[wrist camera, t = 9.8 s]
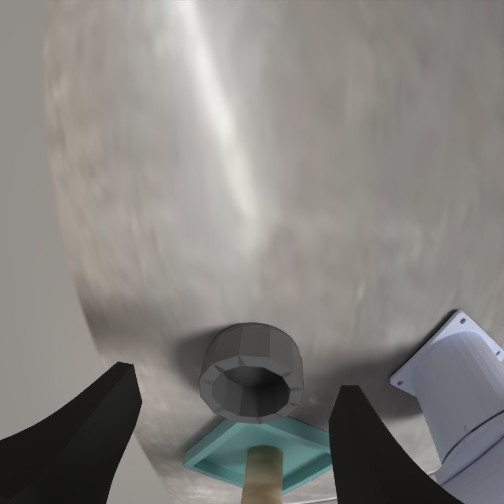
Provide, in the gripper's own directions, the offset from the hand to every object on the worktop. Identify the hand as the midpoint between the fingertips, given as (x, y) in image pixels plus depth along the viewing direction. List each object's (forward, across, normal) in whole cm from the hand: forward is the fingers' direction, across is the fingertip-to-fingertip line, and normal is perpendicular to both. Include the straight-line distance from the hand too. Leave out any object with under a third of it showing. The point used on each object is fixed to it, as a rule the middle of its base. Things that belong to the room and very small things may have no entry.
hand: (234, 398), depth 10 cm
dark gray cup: (+10, 0, +7) cm, 13 cm away
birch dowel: (+10, -2, +20) cm, 22 cm away
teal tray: (+10, -2, +20) cm, 22 cm away
